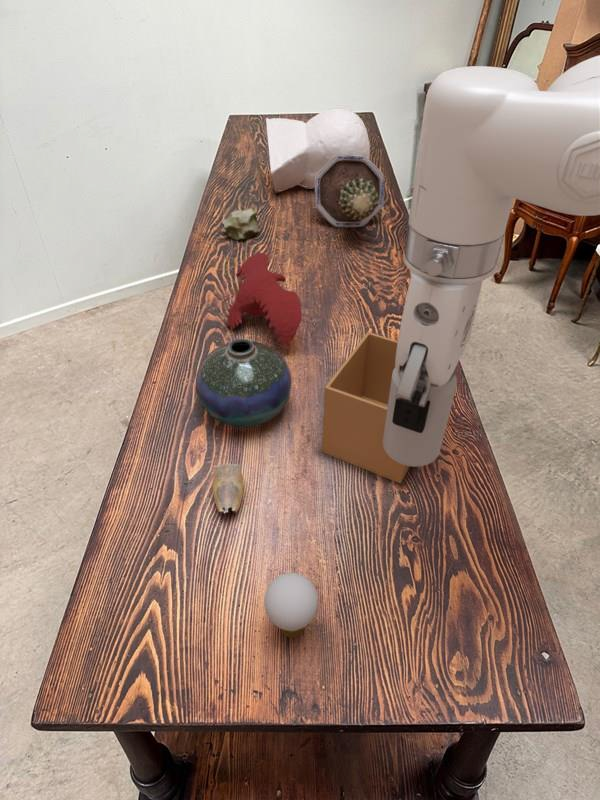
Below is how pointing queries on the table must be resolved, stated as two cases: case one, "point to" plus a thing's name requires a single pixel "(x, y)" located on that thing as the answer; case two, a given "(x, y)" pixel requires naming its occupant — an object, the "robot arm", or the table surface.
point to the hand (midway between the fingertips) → (419, 403)
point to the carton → (362, 408)
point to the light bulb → (291, 603)
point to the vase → (243, 383)
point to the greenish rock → (241, 224)
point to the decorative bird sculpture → (265, 299)
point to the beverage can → (427, 444)
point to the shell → (228, 487)
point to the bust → (312, 145)
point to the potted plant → (349, 190)
